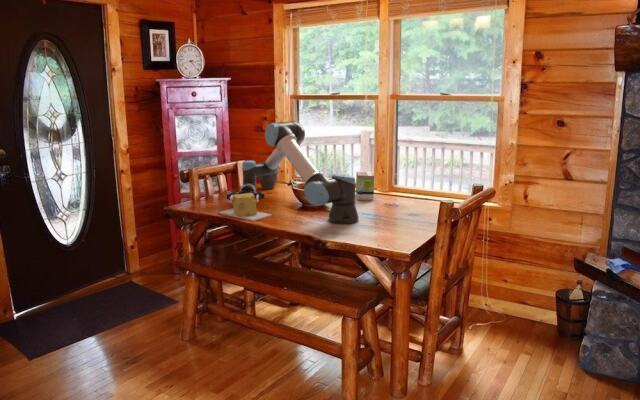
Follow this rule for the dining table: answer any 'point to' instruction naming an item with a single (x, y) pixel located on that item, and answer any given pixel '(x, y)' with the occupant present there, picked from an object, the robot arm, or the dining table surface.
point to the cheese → (244, 204)
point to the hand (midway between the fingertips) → (244, 200)
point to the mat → (247, 217)
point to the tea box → (365, 185)
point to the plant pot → (268, 181)
